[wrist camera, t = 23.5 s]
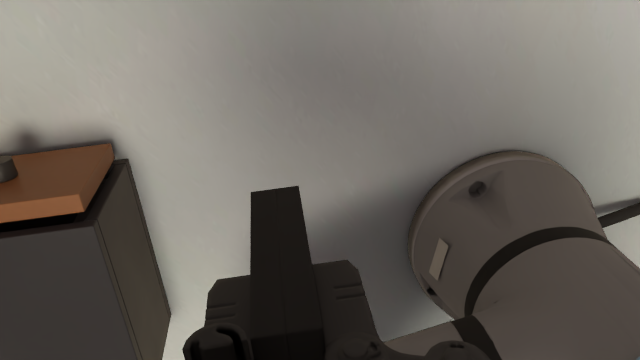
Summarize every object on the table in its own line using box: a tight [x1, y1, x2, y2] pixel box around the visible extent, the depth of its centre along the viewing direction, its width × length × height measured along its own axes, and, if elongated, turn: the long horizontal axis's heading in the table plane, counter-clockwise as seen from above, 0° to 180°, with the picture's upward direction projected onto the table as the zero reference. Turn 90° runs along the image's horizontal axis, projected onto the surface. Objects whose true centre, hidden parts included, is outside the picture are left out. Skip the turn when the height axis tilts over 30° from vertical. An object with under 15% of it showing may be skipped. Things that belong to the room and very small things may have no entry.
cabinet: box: [0, 159, 171, 360], centre depth 38 cm, size 15×13×10 cm
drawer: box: [0, 143, 115, 233], centre depth 37 cm, size 15×11×8 cm
